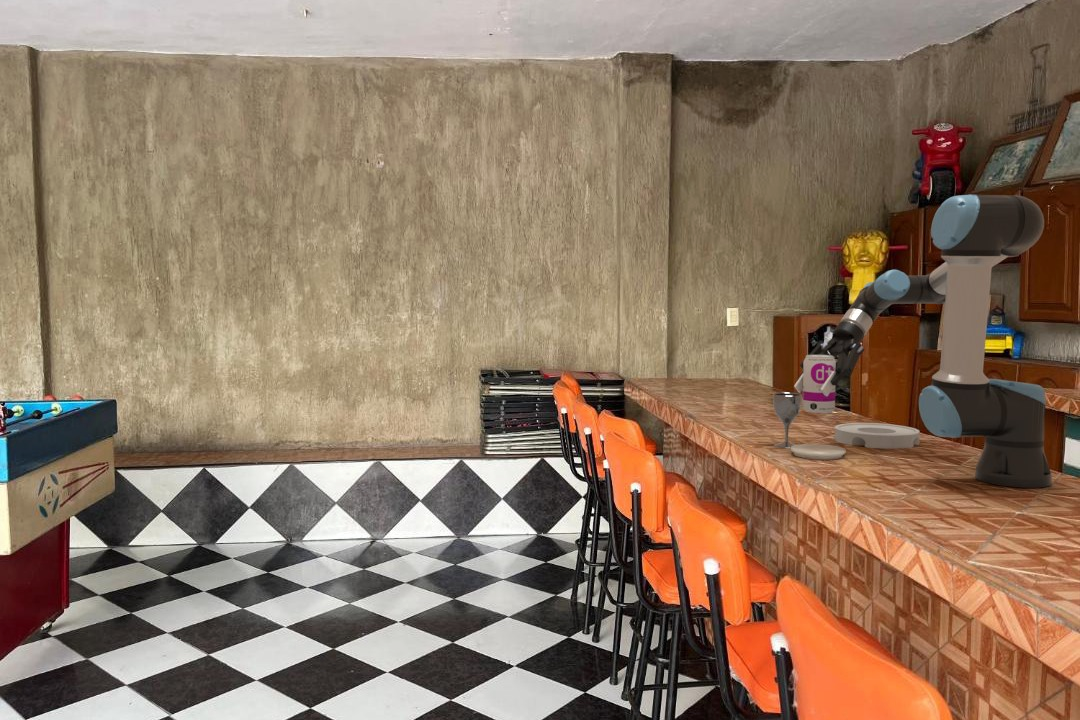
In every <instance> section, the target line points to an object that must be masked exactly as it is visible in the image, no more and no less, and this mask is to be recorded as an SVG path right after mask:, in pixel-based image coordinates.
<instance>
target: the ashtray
mask: <svg viewBox="0 0 1080 720" xmlns="http://www.w3.org/2000/svg"><path fill="white" fill-rule="evenodd" d="M920 436H921V435H920V430H919V429H917V428H914V427H910V426H905V425H898V424H892V423H891V424H890V423H877V422H876V423H875V422H852V423H851V422H850V423H842V424H841V423H840V424H837V425H835V426H834V441H836V442H838V443H840V444H843V445H847V446H864V447H865V448H868V449H869V448H871V449H886V450H887V449H888V450H889V449H893V450H894V449H895V450H896V449H909V448H910V449H911V448H914V446H919V445H920Z"/></svg>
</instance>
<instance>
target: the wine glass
mask: <svg viewBox="0 0 1080 720" xmlns="http://www.w3.org/2000/svg"><path fill="white" fill-rule="evenodd" d="M772 404H773V410H774V413H775V415H776V416H777V418H778V419H779V420H780V421H781V423H782V425H783V427H784V432H785V433H784V437H785V439H784V441H782V442H779V443H775V444H773V446H774V447H776V448H782V449H791V446H793V445H796V444H795V443H791V442H789V431H790V426H791V425H792V423H793V421H794V420H796V418H797V417H798V416H799V414H800V412H801V409H802V405H803V393H802V394H801V393H799V392H783V391H782V392H773V394H772Z"/></svg>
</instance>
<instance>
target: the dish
mask: <svg viewBox="0 0 1080 720" xmlns="http://www.w3.org/2000/svg"><path fill="white" fill-rule="evenodd" d="M790 452H792V453H793V455H794V456H795V457H798V458H801V459H802V458H803V459H808V460H819V461H828V460H829V461H830V460H838V459H842V458H843V456H844V455H845V454H846V449H845V448H843V447H841V446H837V445H833V444H821V443H801V444H795V445H793V446H791V448H790Z"/></svg>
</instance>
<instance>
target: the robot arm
mask: <svg viewBox="0 0 1080 720" xmlns="http://www.w3.org/2000/svg"><path fill="white" fill-rule="evenodd" d="M933 216H934V217H933V219H932V223H931V227H930V228H931V229H930V236H931V239H933V240H932V244H933V245H934V246H935V247H936V248H937V249H939V250H941V253H940V254H941V255H940V257H941V259H942V260H944V263H941V265H940V266H938V267H936V268H935V269H934V270H933V271H931V272H930V273H928V274H925V275H907V274H906V273H905V272H903V271H901V270H898V269H891V270H887V271H885V272H884V273H883V274H880V276H878V277H877V278H876V279H875V280H874V281H872V282H871V281H870V282H867V283H866V284H865V285H864V286H863V287H862V289H860V291H859V292H858V294H857V296H856V297H855V299H854V301H853V302H852V304H851V305H850V307H849V308H848V310H846V312H845V314H844V315H843V316H842V318H841V319H840V321H839V322H838V324H837V325H836V327H835V329H833V331H832V337H831V338H830V340H828V341H827V342H824V341H823V340H819V341H817V344H816V346H815V347H814V348H813V349H812V350H811V352H810V353H809V354H808V355H832V356H833V357H834V358H835V357H837V360H836V369H835V370H836V372H835V371H832V373H831V374H830V375H829V377H828V378H827V380H826V381H825V383H824V384H823V386H822V387H821V389H820V390H821V391H822V392H823V394H824V395H825V396H828V395H829V393H830V392H831V390H832V389H833V387H834V386H835V387H836V386H837V385H838V384H839V382H840V381H841V379H842V378H844V377H850V376H852V374H853V372H854V369H855V367H856V365H857V362H858V360H859V358H860V356H861V354H863V352H865V349H864V346H862V343H861V342H863V339H864V337H865V335H867V333H868V332H869V330H870V328H871V327H872V325H873V324H874V323H875V321H876V320H877V318H878V317H879V315H880V314H881V313H882V312H883V311H885V310H886V309H887V308H889V307H890V306H891V305H894V304H895V305H898V304H899V305H905V304H909V305H911V304H913V305H914V304H915V305H916V304H917V305H918V304H920V305H921V304H925V305H926V304H930V305H932V304H933V305H935V304H936V305H942V304H944V313H943V326H942V327H943V328H942V339H941V353H940V354H941V356H940V366H939V370H938V371H937V372H936V373H934V374H933V375H932V376H931V385H928V386H926V387H924V388H923V389H922V390H921V393H920V394H919V396H918V408H919V409H918V410H919V415H920V418H921V420H922V422H923V424H924V426H925V427H926V429H927V431H929V432H930V433H931V434H933V435H934V436H936V437H940V438H952V439H956V438H957V439H958V438H973V437H974V438H975V437H978V438H979V437H984V446H983V448H982V452H981V453H980V456H979V459H978V461H977V463H976V466H975V470H974V471H975V473H974V477H975V479H977V480H978V481H980V482H984V483H989V484H993V485H997V486H1005V487H1011V488H1023V489H1024V488H1027V489H1029V488H1031V489H1032V488H1033V489H1035V488H1036V489H1037V488H1039V489H1040V488H1046V487H1049V486H1052V476H1053V475H1052V471H1051V469H1050V467H1049V462H1048V460H1047V457H1046V453H1045V449H1044V444H1045V443H1044V442H1045V422H1046V419H1045V418H1046V417H1045V416H1046V407H1047V402H1046V390H1045V389H1044V387H1043V386H1041V385H1039V384H1035V383H1028V382H1022V381H1021V382H1019V381H1014V380H1006V379H997V378H988V377H987V376H986V374H985V373H984V362H985V349H986V340H987V339H986V338H987V330H988V329H987V328H988V327H987V326H988V313H989V303H990V292H991V291H990V289H991V279H992V268H993V267H994V266H996V265H998V264H1000V263H1001V262H1002V261H1003V260H1005V259H1007V258H1013V257H1014V258H1015V257H1017V256H1020V255H1021V254H1023V253H1024V252H1026V251H1028V250H1029V249H1030V248H1032V247H1033V246H1034V245H1035V244H1036V243H1037V242H1038V241H1039V239H1040V238H1041V236H1042V234H1043V231H1044V228H1045V219H1044V214H1043V212H1042V210H1041V208H1040V206H1039V205H1038V204H1037V203H1036V202H1034V201H1033V200H1031V199H1029V198H1027V197H1025V196H1022V195H1018V194H1017V195H1015V194H1013V195H1012V194H1008V195H1006V194H1005V195H1004V194H1003V195H1002V194H1001V195H1000V194H999V195H997V194H996V195H995V194H962V195H954V196H951V197H949V198H947V199H945V200H944V201H943V202H942V203H941V205H940V206H939V207H938V209H937V210H936V212H935V214H934V215H933ZM803 363H804V360H803V361H802V362H801V363H800V365H799V367H800V368H801V369H802V370H803ZM793 387H794V389H795V390H796V391H797V393H799V394H801V393H803V371H801V373H800V375H799V376H798V379H797V381H796V383H795V384H794V386H793Z"/></svg>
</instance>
